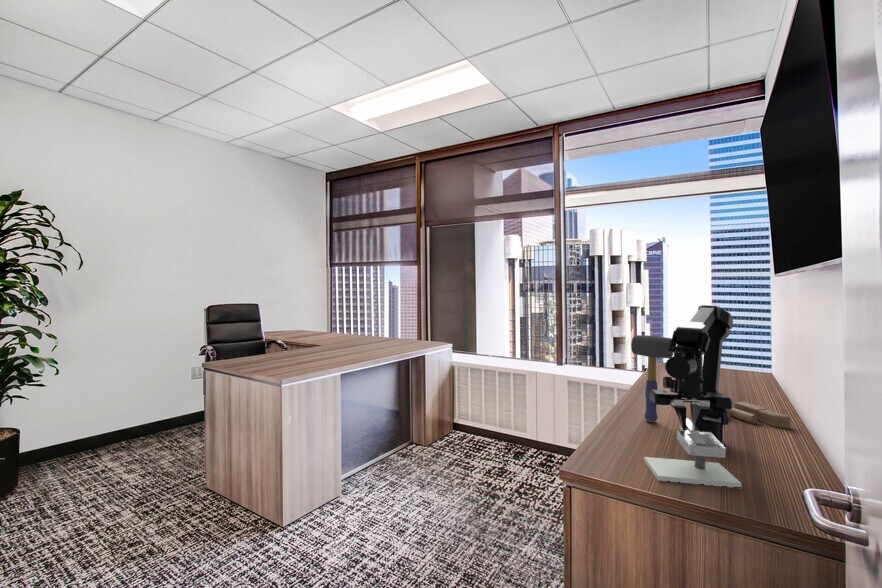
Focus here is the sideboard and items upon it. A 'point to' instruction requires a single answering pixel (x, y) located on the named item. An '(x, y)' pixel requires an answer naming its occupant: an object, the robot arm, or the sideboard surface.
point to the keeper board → (691, 471)
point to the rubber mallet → (651, 364)
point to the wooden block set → (758, 415)
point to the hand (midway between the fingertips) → (688, 430)
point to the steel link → (693, 441)
